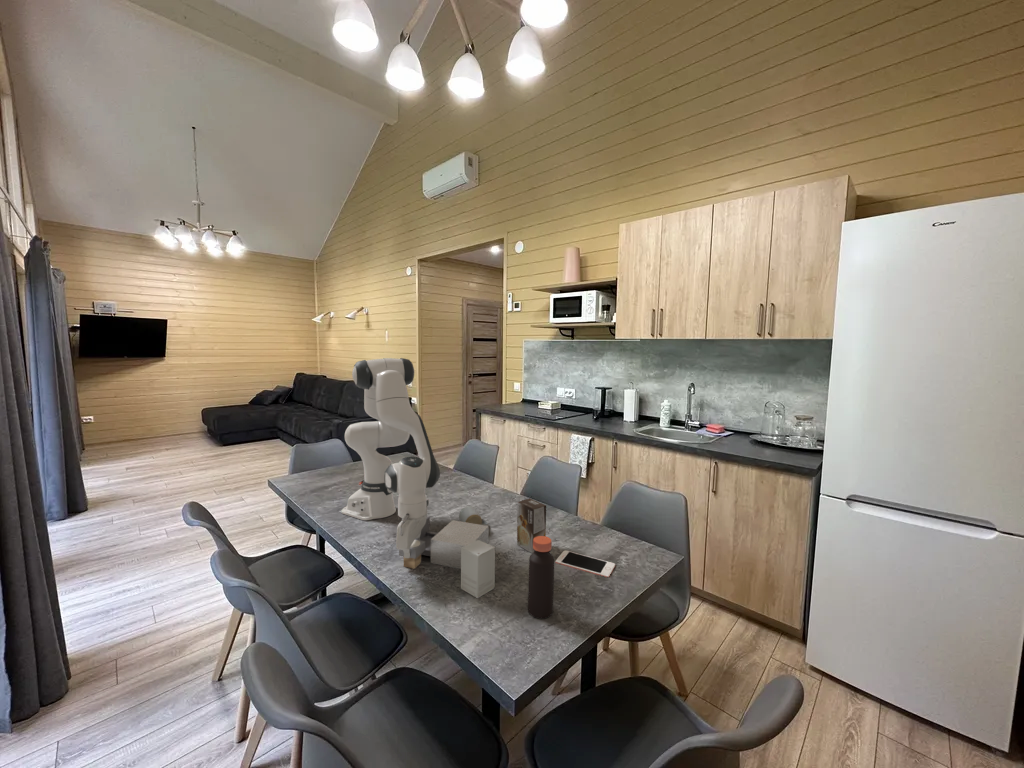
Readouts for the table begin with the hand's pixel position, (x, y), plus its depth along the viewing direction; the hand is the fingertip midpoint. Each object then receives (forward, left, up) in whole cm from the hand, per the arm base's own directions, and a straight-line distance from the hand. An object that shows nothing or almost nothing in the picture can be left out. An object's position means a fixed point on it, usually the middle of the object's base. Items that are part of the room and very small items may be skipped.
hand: (412, 550), depth 133 cm
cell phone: (+53, +20, -6) cm, 57 cm away
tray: (+1, +11, -5) cm, 12 cm away
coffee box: (+33, +25, -5) cm, 42 cm away
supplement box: (+25, -5, -5) cm, 26 cm away
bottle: (+45, -9, -5) cm, 46 cm away
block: (0, 0, -5) cm, 5 cm away
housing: (+12, +11, -5) cm, 17 cm away
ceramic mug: (+8, +33, -5) cm, 34 cm away
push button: (0, 0, -1) cm, 1 cm away
